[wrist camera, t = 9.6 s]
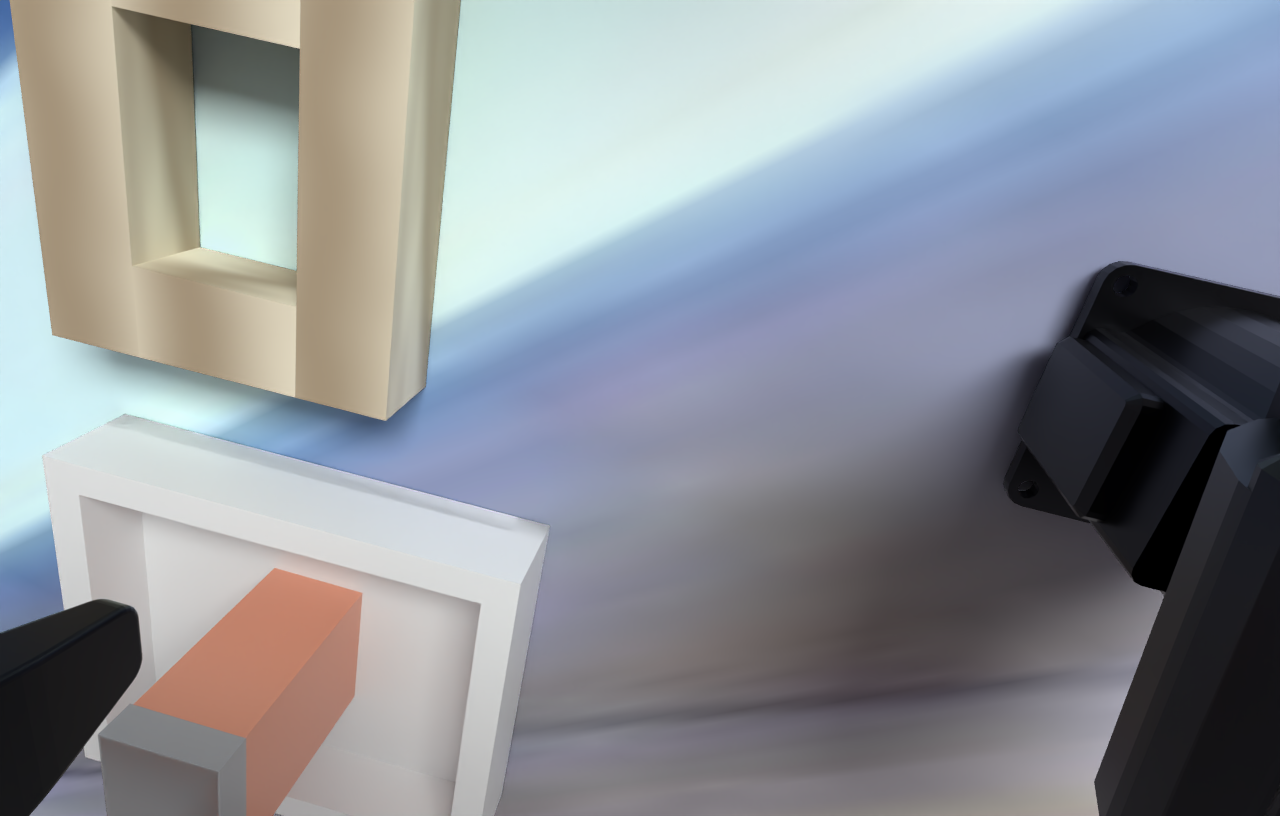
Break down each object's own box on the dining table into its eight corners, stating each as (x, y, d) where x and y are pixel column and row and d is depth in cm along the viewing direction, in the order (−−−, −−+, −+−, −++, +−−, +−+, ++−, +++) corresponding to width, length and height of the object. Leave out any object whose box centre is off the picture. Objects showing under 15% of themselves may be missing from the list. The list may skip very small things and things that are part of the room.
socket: (464, -41, 18) (418, -60, 15) (425, 386, 22) (385, 420, 20) (88, -122, 18) (-10, -152, 16) (124, 310, 23) (52, 334, 20)
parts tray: (550, 525, 23) (520, 584, 20) (501, 795, 28) (472, 871, 25) (124, 414, 24) (42, 455, 21) (150, 693, 29) (85, 756, 26)
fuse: (364, 592, 24) (219, 771, 18) (355, 697, 26) (222, 893, 20) (273, 566, 24) (97, 734, 18) (271, 672, 26) (112, 859, 20)
